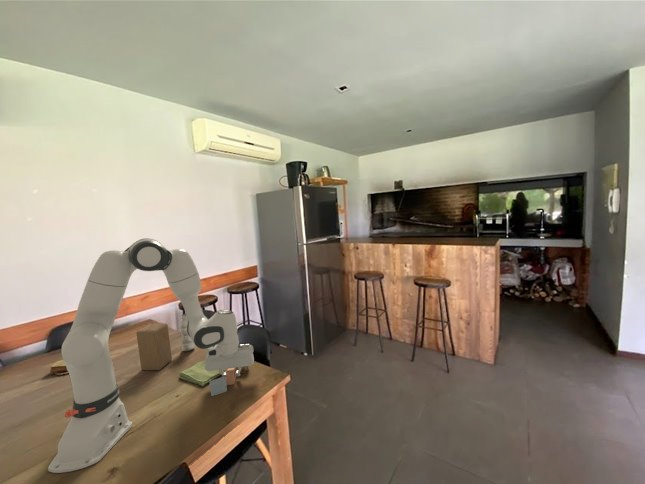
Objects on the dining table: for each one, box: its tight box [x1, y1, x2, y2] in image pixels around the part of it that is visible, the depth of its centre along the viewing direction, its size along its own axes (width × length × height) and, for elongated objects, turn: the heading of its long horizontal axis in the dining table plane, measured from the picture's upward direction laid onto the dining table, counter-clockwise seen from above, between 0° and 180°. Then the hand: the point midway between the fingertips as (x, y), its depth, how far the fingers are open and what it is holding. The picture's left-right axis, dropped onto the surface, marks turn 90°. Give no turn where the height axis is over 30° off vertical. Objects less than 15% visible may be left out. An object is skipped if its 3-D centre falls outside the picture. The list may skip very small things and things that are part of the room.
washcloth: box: [179, 360, 226, 387], centre depth 126 cm, size 13×18×3 cm
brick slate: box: [208, 376, 228, 397], centre depth 113 cm, size 6×3×5 cm, turn 119°
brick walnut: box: [236, 366, 249, 373], centre depth 128 cm, size 6×3×5 cm, turn 78°
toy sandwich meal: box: [49, 359, 69, 376], centre depth 139 cm, size 12×14×5 cm
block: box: [136, 322, 173, 371], centre depth 137 cm, size 10×10×20 cm
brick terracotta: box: [225, 368, 237, 386], centre depth 120 cm, size 6×3×5 cm, turn 9°
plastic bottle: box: [179, 313, 196, 352], centre depth 151 cm, size 6×7×20 cm
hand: (231, 376), depth 120 cm, fingers open, 4 cm apart
